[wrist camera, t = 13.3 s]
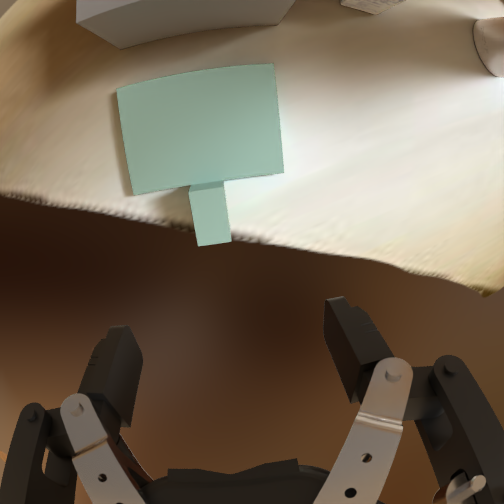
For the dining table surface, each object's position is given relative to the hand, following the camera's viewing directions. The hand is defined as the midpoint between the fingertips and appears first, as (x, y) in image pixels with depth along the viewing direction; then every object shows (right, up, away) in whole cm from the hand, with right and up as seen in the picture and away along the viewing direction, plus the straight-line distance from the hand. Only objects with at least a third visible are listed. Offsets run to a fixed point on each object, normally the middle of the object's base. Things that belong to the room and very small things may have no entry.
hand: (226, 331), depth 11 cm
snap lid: (-4, +13, +15) cm, 20 cm away
